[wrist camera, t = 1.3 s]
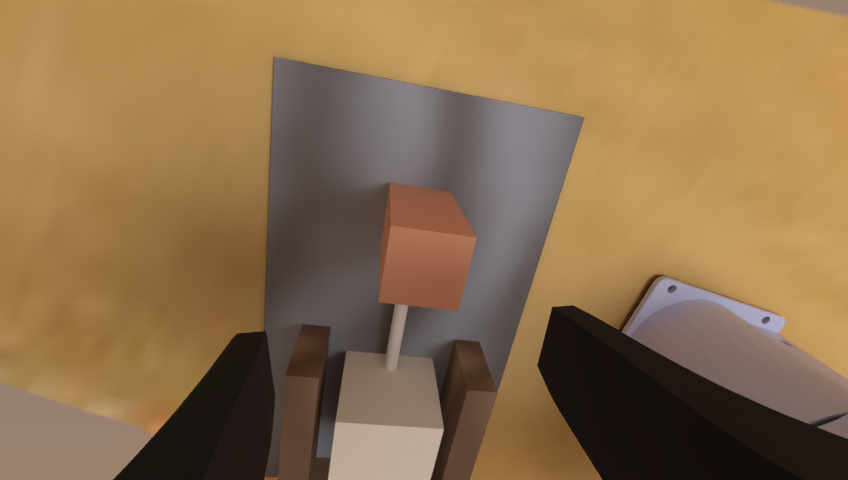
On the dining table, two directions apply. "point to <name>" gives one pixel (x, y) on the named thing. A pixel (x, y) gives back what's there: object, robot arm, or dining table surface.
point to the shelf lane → (361, 245)
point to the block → (391, 373)
